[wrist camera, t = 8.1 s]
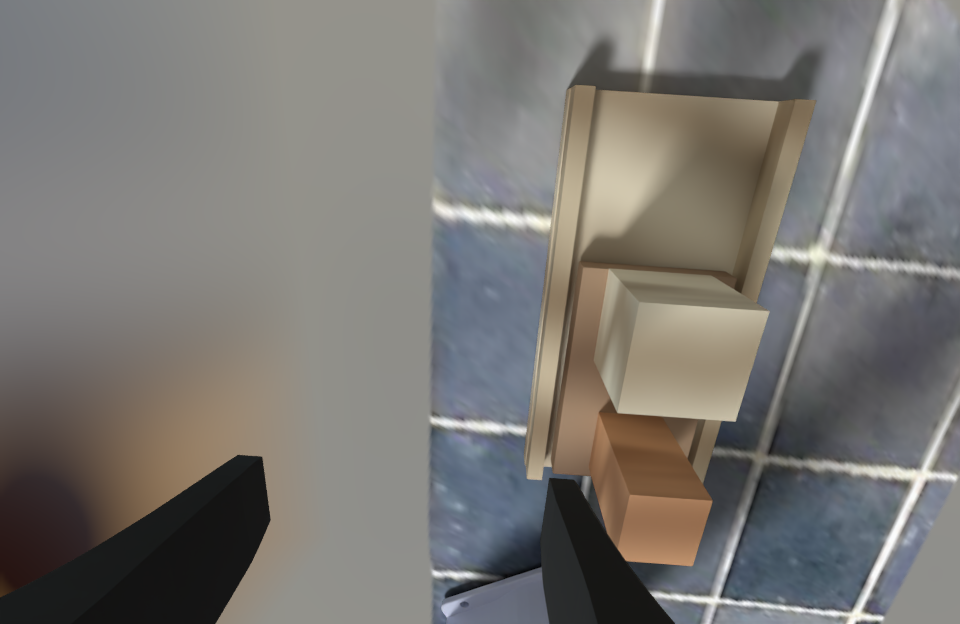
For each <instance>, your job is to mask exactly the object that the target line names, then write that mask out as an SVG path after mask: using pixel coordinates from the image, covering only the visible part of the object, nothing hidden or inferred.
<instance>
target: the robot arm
mask: <svg viewBox="0 0 960 624" xmlns="http://www.w3.org/2000/svg"><path fill="white" fill-rule="evenodd" d="M269 522H270V512H269V505H268V497H267V490H266V482H265V474H264V467H263V460H262V457H258V456H245V455H237V456H236V457H234V458H232V459H231V460H229V461H228V462H226V463H225V464H223V465H222V466H220V467H219V468H217V469H216V470H214V471H213V472H211V473H210V474H208V475H207V476H205V477H204V478H202V479H201V480H199V481H198V482H196V483H195V484H193V485H192V486H190V487H189V488H188V489H186V490H184V491H183V492H182V493H180V494H178V495H177V496H176V497H174V498H172V499H171V500H170V501H168V502H166V503H165V504H163V505H162V506H161V507H159V508H158V509H156V510H155V511H153V512H151V513H150V514H148V515H147V516H145V517H143V518H142V519H140V520H138V521H137V522H135V523H134V524H132V525H131V526H129V527H127V528H126V529H124V530H122V531H121V532H119V533H117V534H116V535H114V536H113V537H111V538H109V539H108V540H107V541H105V542H103V543H101V544H100V545H98V546H96V547H95V548H93V549H91V550H89V551H88V552H86V553H84V554H82V555H81V556H79V557H77V558H75V559H74V560H72V561H70V562H68V563H66V564H65V565H63V566H61V567H59V568H57V569H55V570H53V571H52V572H50V573H48V574H46V575H44V576H42V577H40V578H39V579H37V580H35V581H33V582H31V583H29V584H27V585H25V586H23V587H21V588H19V589H17V590H15V591H13V592H11V593H9V594H7V595H5V596H3V597H0V624H215V623H216V622H217V620H218V618H219V617H220V615H221V613H222V612H223V610H224V608H225V607H226V605H227V603H228V602H229V600H230V598H231V597H232V595H233V593H234V592H235V590H236V588H237V586H238V585H239V583H240V581H241V580H242V578H243V576H244V575H245V573H246V571H247V569H248V568H249V566H250V564H251V562H252V561H253V558H254V556H255V554H256V552H257V550H258V548H259V545H260V543H261V541H262V539H263V536H264V534H265V532H266V529H267V527H268V525H269ZM540 545H541V563H542V567H540V568H537V569H534V570H531V571H528V572H525V573H522V574H519V575H515V576H512V577H509V578H506V579H503V580H500V581H497V582H494V583H491V584H488V585H485V586H482V587H479V588H476V589H473V590H470V591H467V592H464V593H461V594H457V595H454V596H451V597H448V598H446V599H444V600H443V601H442V606H441V609H442V611H443V613H444V614H445V616H446V617H447V623H446V624H675V623H674V622H673V620H672V619H671V618H670V617H669V616H668V615H667V614H666V612H665V611H664V610H663V609H662V607H661V606H660V605H659V604H658V603H657V601H656V600H655V599H654V598H653V596H652V595H651V594H650V592H649V591H648V590H647V589H646V587H645V586H644V585H643V583H642V582H641V581H640V579H639V578H638V577H637V575H636V574H635V573H634V571H633V570H632V569H631V567H630V566H629V564H628V563H627V562H626V560H625V559H624V557H623V556H622V555H621V553H620V552H619V550H618V549H617V547H616V546H615V544H614V543H613V541H612V540H611V538H610V537H609V535H608V534H607V532H606V531H605V529H604V528H603V526H602V525H601V523H600V521H599V520H598V518H597V517H596V515H595V513H594V512H593V510H592V508H591V507H590V505H589V503H588V502H587V500H586V498H585V496H584V495H583V493H582V491H581V489H580V488H579V486H578V484H577V483H576V482H575V481H574V480H570V479H557V478H549V483H548V490H547V497H546V504H545V511H544V518H543V525H542V532H541V539H540Z"/></svg>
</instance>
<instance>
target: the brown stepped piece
mask: <svg viewBox="0 0 960 624" xmlns="http://www.w3.org/2000/svg"><path fill="white" fill-rule="evenodd" d="M609 269H624V270H638V271H653V272H667V273H682V274H696V275H711V276H713V277H715V278H716V279H718V280H719V281H721V282H723V283H724V284H726V285H728V286H729V287H731V288H732V289H734V287H735V283H736V280H737V278H736V277H734V276H732V275H731V274H729V273H727V272H725V271H715V270H700V269H686V268H671V267H657V266H642V265H627V264H613V263H598V262H584V261H579V265H578V272H577V279H576V286H575V293H574V300H573V307H572V314H571V321H570V328H569V335H568V342H567V349H566V356H565V363H564V370H563V377H562V384H561V391H560V398H559V404H558V411H557V418H556V425H555V432H554V439H553V446H552V453H551V464H552V470H553V473H555V474H569V475H582V476H591V477H592V481H593V484H594V488H595V491H596V495H597V498H598V502H599V506H600V509H601V513H602V516H603V520H604V523H605V527H606V530H607V534H608V535H609V537H610V538H611V540H612V541H613V543H614V544H615V546H616V547H617V549H618V550H619V552H620V553H621V555H622V556H623V557H624V559H625V560H626V561H631V562H644V563H658V564H671V565H684V566H693V563H694V560H695V557H696V554H697V550H698V547H699V544H700V541H701V537H702V534H703V531H704V528H705V525H706V521H707V518H708V515H709V512H710V509H711V505H712V502H713V500H712V499H711V497H710V495H709V494H708V492H707V490H706V489H705V487H704V485H703V484H702V482H701V480H700V479H699V477H698V476H697V474H696V472H695V471H694V469H693V467H692V466H691V464H690V462H689V461H688V455H689V451H690V448H691V444H692V440H693V437H694V433H695V429H696V426H697V422H698V419H692V418H679V417H665V416H651V415H637V414H623V413H617V411H616V409H615V407H614V404H613V402H612V400H611V398H610V396H609V393H608V391H607V389H606V387H605V384H604V382H603V380H602V378H601V375H600V373H599V371H598V369H597V367H596V364H595V362H594V355H595V349H596V343H597V337H598V331H599V325H600V319H601V313H602V307H603V301H604V295H605V289H606V283H607V277H608V271H609Z"/></svg>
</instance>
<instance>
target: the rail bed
mask: <svg viewBox="0 0 960 624" xmlns="http://www.w3.org/2000/svg"><path fill="white" fill-rule="evenodd" d="M595 88H596V86H587V85H575V86H573V87H572V88H569V89H568V90H567V91H566V99H565V108H564V116H563V125H562V133H561V142H560V151H559V159H558V168H557V176H556V185H555V193H554V202H553V210H552V219H551V227H550V236H549V244H548V253H547V262H546V270H545V279H544V287H543V296H542V304H541V313H540V321H539V330H538V338H537V347H536V355H535V364H534V373H533V381H532V390H531V398H530V407H529V415H528V424H527V432H526V441H525V449H524V461H525V465H526V473H527V479H535V480H542V474H543V467H544V466H547V467H552V464H551V453H552V446H553V439H554V432H555V425H556V418H557V411H558V404H559V398H560V391H561V384H562V377H563V370H564V363H565V356H566V349H567V342H568V335H569V328H570V321H571V314H572V307H573V300H574V293H575V286H576V279H577V272H578V265H579V261H584V262H598V263H613V264H627V265H642V266H657V267H671V268H686V269H700V270H715V271H725V272H727V273H729V274H731V275H732V276H734V277H736V278H737V280H736V283H735V287H734V290H736V291H737V292H739V293H741V294H742V295H744V296H746V297H747V298H749V299H750V300H752V301H754V302H755V303H757V300H758V296H759V293H760V289H761V286H762V283H763V279H764V276H765V273H766V269H767V266H768V262H769V259H770V256H771V252H772V249H773V245H774V242H775V239H776V235H777V232H778V229H779V225H780V222H781V218H782V215H783V212H784V208H785V205H786V202H787V198H788V195H789V191H790V188H791V185H792V181H793V178H794V175H795V171H796V168H797V164H798V161H799V158H800V154H801V151H802V148H803V144H804V141H805V137H806V134H807V131H808V127H809V124H810V120H811V117H812V114H813V110H814V107H815V104H816V100H803V99H793V100H786V101H780V102H778V101H762V100H747V99H731V98H716V97H701V96H685V95H670V94H654V93H639V92H623V91H608V90H595ZM720 425H721V421H720V420H706V419H698V422H697V426H696V429H695V433H694V437H693V440H692V444H691V448H690V451H689V455H688V461H689V462H690V464H691V466H692V467H693V469H694V471H695V472H696V474H697V476H698V477H699V479H700V480H701V482H702V484H703V482H704V479H705V475H706V472H707V468H708V465H709V462H710V458H711V455H712V452H713V448H714V445H715V441H716V438H717V435H718V431H719V428H720Z"/></svg>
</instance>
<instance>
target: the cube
mask: <svg viewBox="0 0 960 624" xmlns="http://www.w3.org/2000/svg"><path fill="white" fill-rule="evenodd" d="M769 312H770V311H768V310H767V309H765V308H763V307H762V306H760V305H759V304H757V303H755V302H754V301H752V300H750V299H749V298H747V297H746V296H744V295H742V294H741V293H739V292H737V291H736V290H734V289H732V288H731V287H729V286H728V285H726V284H724V283H723V282H721V281H719V280H718V279H716V278H715V277H713V276H711V275H696V274H682V273H667V272H653V271H638V270H624V269H609V271H608V277H607V283H606V289H605V295H604V301H603V307H602V313H601V319H600V325H599V331H598V337H597V343H596V349H595V355H594V362H595V364H596V367H597V369H598V371H599V373H600V375H601V378H602V380H603V382H604V384H605V387H606V389H607V391H608V393H609V396H610V398H611V400H612V402H613V404H614V407H615V409H616V411H617V413H623V414H637V415H651V416H665V417H679V418H692V419H706V420H720V421H734V422H736V418H737V415H738V412H739V409H740V405H741V402H742V399H743V396H744V392H745V389H746V386H747V383H748V380H749V376H750V373H751V370H752V367H753V363H754V360H755V357H756V354H757V350H758V347H759V344H760V341H761V337H762V334H763V331H764V328H765V325H766V321H767V318H768V315H769Z"/></svg>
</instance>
